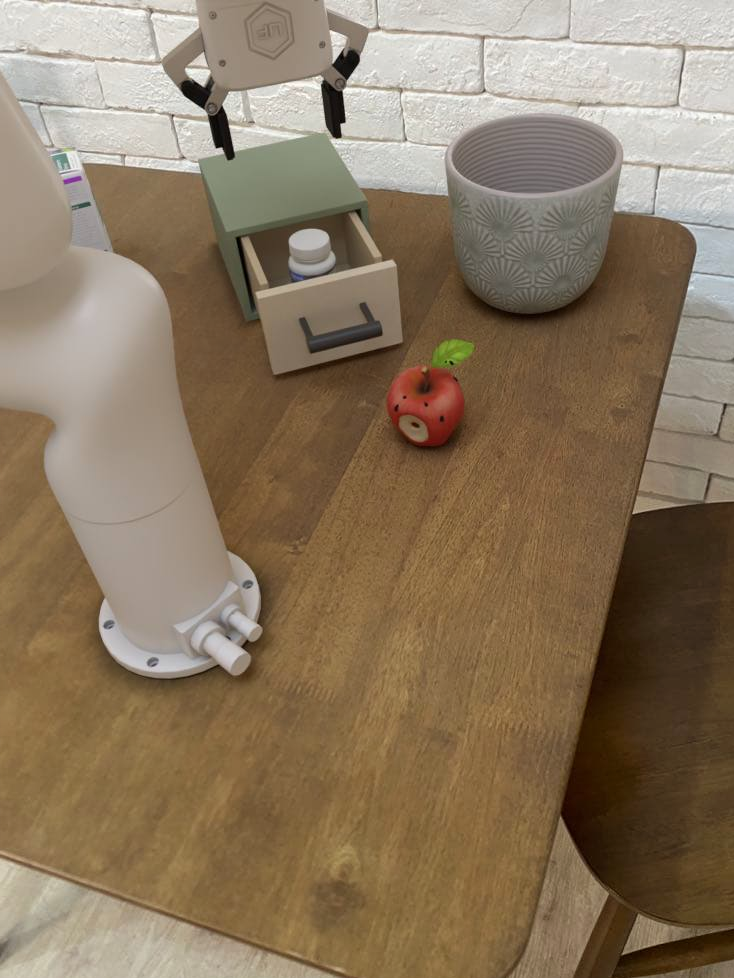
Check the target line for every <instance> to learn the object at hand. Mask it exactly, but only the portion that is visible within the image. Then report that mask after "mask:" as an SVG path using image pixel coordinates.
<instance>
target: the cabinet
mask: <svg viewBox="0 0 734 978" xmlns="http://www.w3.org/2000/svg"><path fill="white" fill-rule="evenodd" d="M234 153H235V158H233V160H229V161H227V158H226V156H225V154H224V153H220V154H216V155H211V156H206V157H202V158H198V159H197V162H198V167H199V170H200V175H201V179H202V184H203V187H204V192H205V197H206V200H207V205H208V209H209V213H210V217H211V222H212V225H213V230H214V234H215V239H216V242H217V246H218V248H219V252H220V254H221V257H222V259H223V263H224V265H225V268H226V270H227V273H228V276H229V278H230V281H231V284H232V286H233V289H234V292H235V294H236V297H237V300H238V303H239V305H240V309H241V311H242V313H243V316H244V319H245V321H246V322H247V323H248V322H251V321H255V320H260V317H259V315H258V312H257V310H256V307H255V305H254V302H253V299H252V297H251V294H250V292H249V289H248V285H247V280H246V276H245V271H244V267H243V262H242V258H241V253H240V248H239V244H238V239H237V237H238V236H242V235H247V234H251V233H255V232H260V231H264V230H269V229H273V228H277V227H282V226H286V225H290V224H295V223H299V222H304V221H308V220H312V219H317V218H321V217H326V216H330V215H334V214H339V213H343V212H348V211H352V210H355V212H356V213H357V215H358V217H359V218H360V220H361V222H362V223H363V225H364V227H365V228H366V230H367V232H368V234H369V235H370V237H371V238H372V233H371V223H370V221H371V220H370V211H369V205H368V204H369V203H368V198H367V197H366V195H365V194H364V191H362V189H361V187H360V186H359V184H358V183H357V180H355V178H354V176H353V175H352V173H351V172H350V169H349V168H348V167H347V165H346V164H345V162H344V159H342V157H341V155H340V154H339V152H338V151H337V149H336V147H335V145H333V142H332V140H331V139H330V138H329V136H328V134H327V133H326V132H320V133H315V134H310V135H306V136H301V137H296V138H291V139H287V140H281V141H278V142H273V143H267V144H264V145H259V146H254V147H249V148H245V149H240V150H236V151H235V150H234Z"/></svg>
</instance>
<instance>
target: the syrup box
mask: <svg viewBox="0 0 734 978" xmlns="http://www.w3.org/2000/svg"><path fill="white" fill-rule="evenodd" d="M48 152H49V154H50V156H51V158H52V159H53V161H54V163H55V165H56V167H57V169H58V171H59V173H60V175H61V177H62V180H63V182H64V185H65V187H66V190H67V193H68V196H69V200H70V204H71V208H72V221H73V232H72V239H71V243H70V246H80V247H88V248H94V249H99V250H103V251H108V252H111V253H115V251H114V249H113V246H112V242H111V240H110V236H109V234H108V231H107V228H106V224H105V222H104V218H103V216H102V213H101V210H100V208H99V205H98V203H97V200H96V197H95V195H94V192H93V190H92V187H91V184H90V181H89V178H88V176H87V173H86V171H85V167H84V165H83V163H82V160H81V157H80V155H79V151H78V149H77V147H66V148H60V149H59V148H58V149H53V150H50V151H48Z"/></svg>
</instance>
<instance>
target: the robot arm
mask: <svg viewBox="0 0 734 978" xmlns="http://www.w3.org/2000/svg"><path fill="white" fill-rule="evenodd" d="M195 6H196V12H197V13H196V14H197V18H198V19H197V20H198V26H199V27H198V28H197V29H196V30H194V31H193V32H192V33H191V34H190V35H188V36H187V37H186V38H185V39H183V40H182V41H181V42H180V43H179V44H178V45H176V46H175V47H174V48H173V49H171V51H169V52H168V53H167V54H165V56H164V57H162V59H161V67H162V69H163V71H164V72H165V74H166V75H167V76H168V77H169V79H170V80H171V82H172V83H173V85H175V86H176V87H177V89H179V91H180V92H181V93H182V95H183V97H184V98H186V99H187V100H189V101H191V102H192V103H193V104H195V105H196V106H198V107H199V108H201V109H202V110H204V111H205V113H206V114H207V119H208V124H209V128H210V132H211V138H212V142H213V146H214V148H215V149H222V152H223V154H225V156H226V158H227V161H229V160H233V158H235V153H234V152H235V149H234V143H233V139H232V134H231V128H230V123H229V119H228V114H227V112H226V110H225V108H224V105H223V104H224V102H225V100H226V98H227V97H228V95H229V93H230V92H233V93H236V92H244V91H250V90H256V89H260V88H261V89H262V88H267V87H271V86H278V85H282V84H283V85H284V84H287V83H291V82H292V83H293V82H297V81H303V80H309V79H312V78H315V77H319V76H320V77H322V78H323V80H321V83H320V89H321V90H320V91H321V99H322V107H323V114H324V123H325V127H326V129H327V131H328V132H329V133H330V135H331V137H332V138H334V139H336V140H337V139H342V138H343V134H342V124H346V122H347V117H346V110H345V109H346V108H345V100H344V90H345V89H346V88H347V84H348V80H349V79H350V78H351V76H352V75H353V73H354V72H355V70H356V69H357V68H358V66H359V64H360V62H361V55H362V53H363V52H364V48H365V46H366V43H367V40H368V37H369V28H368V27H367V25H365V24H364V22H363V21H361V20H357V19H355V18H353V17H350V16H348V15H345V14H342V13H339V12H338V11H334V10H332V9H329V8H327V6H326V2H325V0H195ZM331 32H334V33H336V34H339V35H343V36H345V37H346V40H345V46H344V47H343V48H342V50H341V51H340V52H339V54H338V56H337V57H336V58H335V60H334V61H333V59H334V57H333V55H334V53H333V45H332V38H331V37H332V36H331ZM201 54H204V59H205V62H206V65H207V68H208V69H209V72H210V73H209V74H208V76H207V79H206V80H205V82H204V85H201V83H199V82H197V81H196V80H194V79H193V78H192V77H191V76H189V74H188V73H187V72H186V68H187V67H188V66H189V65H190V64H191V63H192V62H193V61H194V60H196V59H197V58H198V57H199V56H201ZM49 152H50V151H49V150H48V149H47V147H46V145H45V143H44V142H43V140H42V138H41V136H40V135H39V133H38V132H37V130H36V128H35V127H34V125H33V123H32V121H31V120H30V118H29V116H28V115H27V113H26V111H25V109H24V108H23V106H22V105H21V103H20V101H19V99H18V97H17V96H16V94H15V93H14V91H13V89H12V87H11V86H10V84H9V83H8V80H7V79H6V78H5V76H4V74H3V73H2V71H1V70H0V409H6V410H10V411H17V412H27V413H33V414H38V415H42V416H44V417H46V418H47V419H49V420H50V421H52V423H53V424H54V427H53V429H52V430H51V432H50V435H49V436H48V439H47V441H46V443H45V447H44V453H43V467H44V473H45V476H46V479H47V482H48V484H49V487H50V489H51V491H52V494H53V495H54V497H55V499H56V501H57V503H58V505H59V506H60V508H61V510H62V512H63V514H64V517H65V519H66V520H67V523H68V525H69V527H70V529H71V531H72V533H73V535H74V537H75V539H76V541H77V544H78V545H79V547H80V549H81V551H82V553H83V555H84V557H85V559H86V561H87V563H88V565H89V567H90V569H91V572H92V573H93V576H94V578H95V580H96V582H97V583H98V586H99V587H100V590H101V591H102V594H103V596H104V597H103V600H102V603H101V606H100V610H99V615H98V630H99V631H98V632H99V634H100V637H101V639H102V643H103V644H104V647H105V648H106V651H108V653H109V655H110V656H111V658H113V659H114V661H115V662H116V663H117V664H118V665H120V666H122V667H123V668H124V669H126V670H127V671H130V672H131V673H135V674H137V675H140V676H142V677H147V678H152V679H177V678H184V677H185V678H186V677H190V676H193V675H196V674H200V673H203V672H205V671H207V670H209V669H212V668H214V667H215V666H218V665H219V666H220V667H221V668H223V669H224V670H225V671H226V672H227V673H228V674H230V675H231V676H233V677H237V676H240V675H241V674H243V673H244V672H245V671H246V670H247V669H248V668H249V666H250V664H251V661H252V656H251V654H250V653H249V652H248V651H246V650H245V649H244V648H243V647H242V646H243V645H244V644H245V643H246V641H248V642H250V643H254V642H256V641H257V640H259V638H260V637H261V635H262V634H263V626H261V625H260V624H258V621H259V618H260V613H261V611H262V595H261V590H260V585H259V584H258V583H259V582H258V580H257V577H256V574H255V572H254V571H253V570H252V569H251V567H250V566H249V564H248V563H246V562H245V560H243V559H242V558H241V557H240V556H238V555H236V554H235V553H233V552H231V551H229V550H228V549H227V546H226V543H225V540H224V537H223V534H222V531H221V527H220V525H219V521H218V518H217V515H216V512H215V508H214V505H213V502H212V498H211V495H210V493H209V490H208V485H207V483H206V479H205V477H204V473H203V470H202V467H201V464H200V461H199V457H198V454H197V451H196V449H195V445H194V441H193V440H192V436H191V432H190V430H189V426H188V422H187V419H186V415H185V412H184V411H185V410H184V408H183V407H184V406H183V403H182V399H181V394H180V389H179V383H178V382H179V381H178V376H177V368H176V358H175V345H174V334H173V323H172V316H171V310H170V307H169V303H168V300H167V297H166V294H165V292H164V289H163V288H162V286H161V285H160V283H159V282H158V280H157V279H156V278H155V277H154V276H153V274H152V273H150V272H149V270H147V269H146V268H145V267H144V266H142V265H141V264H139V263H137V262H136V261H134V260H132V259H130V258H128V257H126V256H123V255H121V254H118V253H115V252H114V253H111V252H108V251H103V250H99V249H94V248H88V247H80V246H70V243H71V239H72V232H73V221H72V208H71V204H70V200H69V196H68V193H67V190H66V187H65V185H64V182H63V180H62V177H61V175H60V173H59V171H58V169H57V167H56V165H55V163H54V161H53V159H52V158H51V156H50V154H49Z"/></svg>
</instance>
